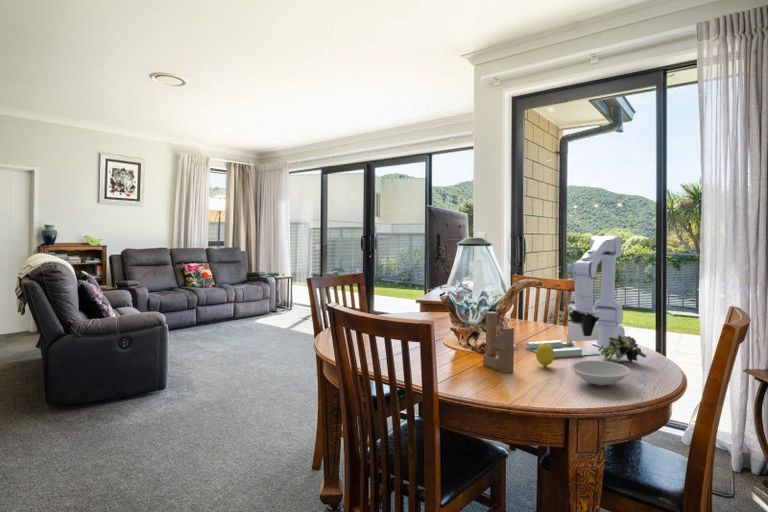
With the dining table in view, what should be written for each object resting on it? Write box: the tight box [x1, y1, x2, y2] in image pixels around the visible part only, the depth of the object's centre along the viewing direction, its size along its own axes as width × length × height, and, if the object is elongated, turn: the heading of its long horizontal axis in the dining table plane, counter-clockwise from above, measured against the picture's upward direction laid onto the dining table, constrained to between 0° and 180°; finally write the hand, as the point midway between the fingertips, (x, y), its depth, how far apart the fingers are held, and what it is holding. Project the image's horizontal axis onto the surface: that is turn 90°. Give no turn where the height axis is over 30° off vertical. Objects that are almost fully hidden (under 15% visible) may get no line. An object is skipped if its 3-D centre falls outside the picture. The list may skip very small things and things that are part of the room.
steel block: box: [567, 321, 599, 342], centre depth 143 cm, size 9×4×6 cm, turn 103°
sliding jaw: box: [526, 333, 575, 349], centre depth 160 cm, size 20×2×4 cm, turn 103°
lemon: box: [535, 343, 555, 368], centre depth 136 cm, size 6×6×8 cm
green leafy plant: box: [598, 335, 647, 364], centre depth 141 cm, size 11×11×12 cm
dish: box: [570, 360, 631, 387], centre depth 119 cm, size 18×14×5 cm
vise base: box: [524, 344, 601, 359], centre depth 155 cm, size 21×15×2 cm
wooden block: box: [482, 311, 515, 374], centre depth 135 cm, size 4×11×18 cm, turn 26°
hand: (583, 334), depth 143 cm, fingers closed on steel block, 4 cm apart
